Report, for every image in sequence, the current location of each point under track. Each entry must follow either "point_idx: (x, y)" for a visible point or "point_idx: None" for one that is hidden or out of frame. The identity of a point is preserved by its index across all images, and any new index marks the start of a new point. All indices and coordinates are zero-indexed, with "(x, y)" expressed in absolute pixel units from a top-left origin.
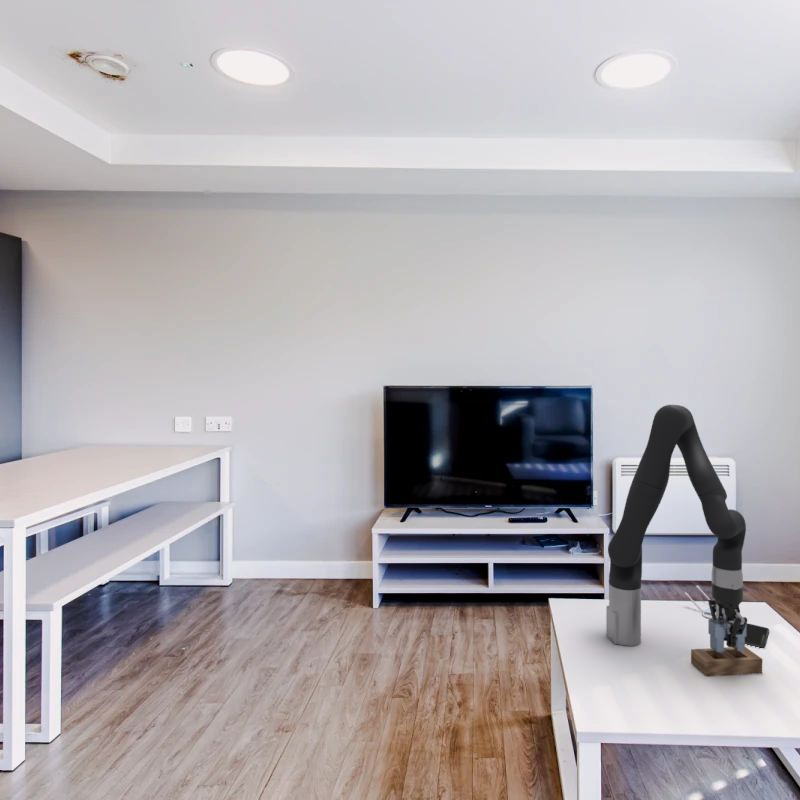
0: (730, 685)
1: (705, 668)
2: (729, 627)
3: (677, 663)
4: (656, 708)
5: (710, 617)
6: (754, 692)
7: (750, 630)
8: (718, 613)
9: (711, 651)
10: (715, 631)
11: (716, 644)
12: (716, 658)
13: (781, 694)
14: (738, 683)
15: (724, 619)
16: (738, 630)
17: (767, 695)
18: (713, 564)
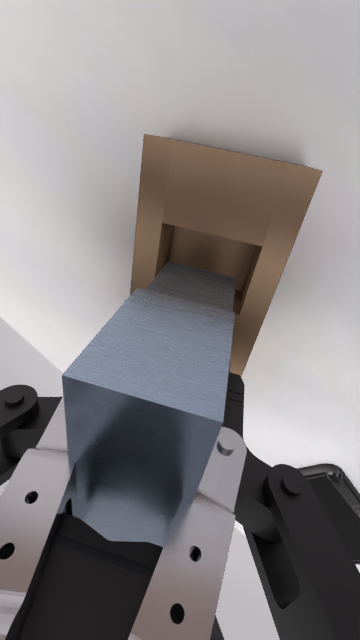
0: (84, 194)
1: (163, 137)
2: (42, 439)
3: (349, 64)
4: None
5: None
6: (36, 244)
7: (350, 537)
8: (154, 595)
9: (249, 286)
10: (110, 322)
11: (159, 281)
12: (241, 294)
13: (27, 313)
14: (94, 240)
15: (41, 512)
16: (5, 448)
17: (19, 270)
18: None
